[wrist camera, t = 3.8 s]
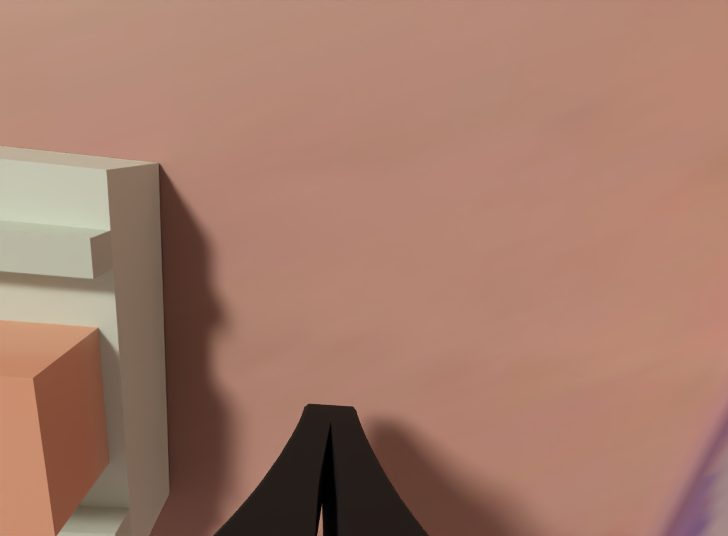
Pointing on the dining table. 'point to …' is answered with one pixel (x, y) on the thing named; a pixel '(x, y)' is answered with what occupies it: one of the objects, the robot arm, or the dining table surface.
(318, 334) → the dining table surface
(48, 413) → the tile
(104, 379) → the two-ridged green plate
